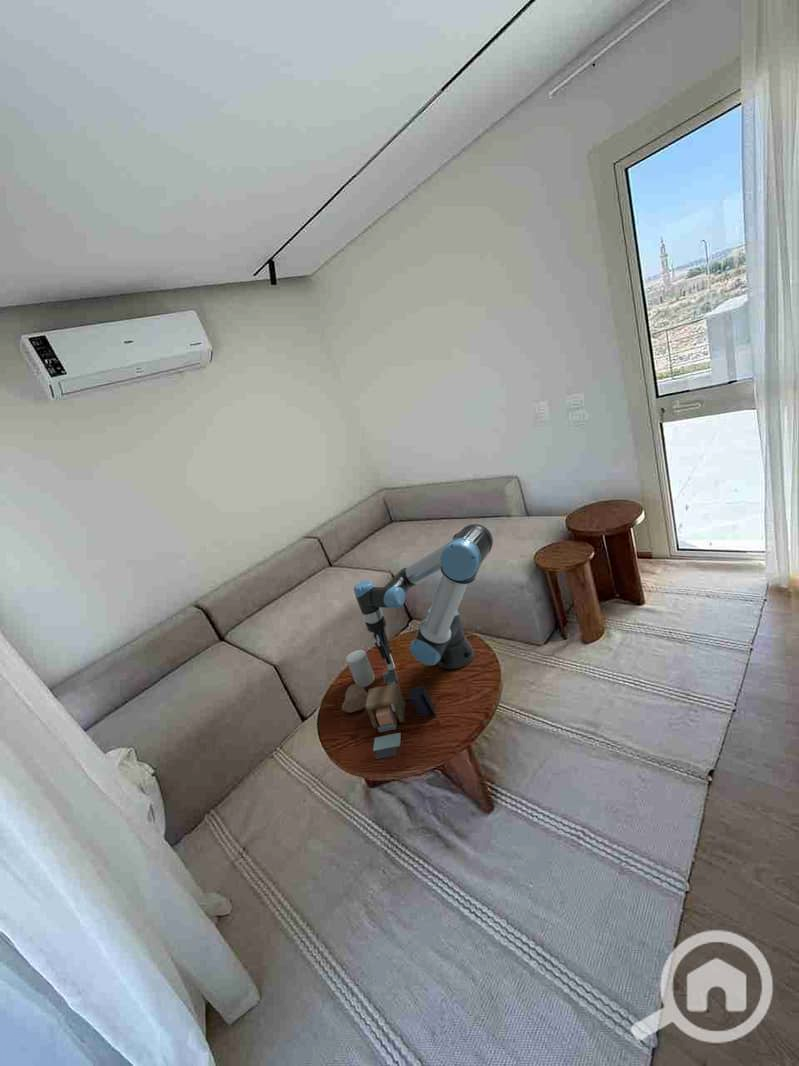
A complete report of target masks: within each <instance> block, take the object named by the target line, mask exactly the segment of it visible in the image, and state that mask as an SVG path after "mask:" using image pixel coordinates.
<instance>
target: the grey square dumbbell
mask: <svg viewBox="0 0 799 1066" xmlns="http://www.w3.org/2000/svg"><path fill="white" fill-rule="evenodd" d="M382 677H383V681H384V684H386V685H390V684H395V683H396V682H398V681H399V677H398V673H397V671H396V668H395V669H392V670H386V671H383V672H382ZM391 707H392V709H393V712H394V724H389V725H384V726H380V725H379V724H378V727H377V730H378V733H383V732H388V731H391V730H394V731H395V730H396V729H397V726H398V725H397V722H398V721H397V720H398V716H397V713H396V710H395V707H394V704H391Z"/></svg>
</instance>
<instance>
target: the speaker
mask: <svg viewBox="0 0 799 1066" xmlns="http://www.w3.org/2000/svg"><path fill="white" fill-rule="evenodd" d="M408 698H409V700H410V702H411V704H412V705H413V708H414V709H415V711H416V712H417V714H418V716H419V717H427V716H428V715H429V714H430V713H431V712H432V714H433V716H434V717H437V711H436V706H435V704H434V703H433V700H432V699H431V697H430V695H429V693H428V691H427V689H426V688H425V686H424V684H423V683H421V686H416V687H414V688H412V689H411V690H410V691H409V693H408Z"/></svg>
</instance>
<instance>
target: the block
mask: <svg viewBox="0 0 799 1066" xmlns="http://www.w3.org/2000/svg"><path fill="white" fill-rule="evenodd" d="M376 717H377V720H378V726H379V725H380V726H384V725H389V724H394V712H393V709H392V707H391V705H386V706H381V707H377V713H376Z"/></svg>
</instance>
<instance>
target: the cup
mask: <svg viewBox="0 0 799 1066" xmlns="http://www.w3.org/2000/svg"><path fill="white" fill-rule="evenodd" d="M345 660H346V662H347V665H348V668H349V671H350V673H351V675H352V678H353V680H354V684H359V685H361V686H362V687H363V688H366V687H368V686H370V685H371V684H373V682H374V681H375V678H376V676H375V674H374V672H373V669H372V665H371V663H370V660H369V658H368V655H367V652H366V651H365V650H364V649H357V650H354V651H352V652H350V653H349V654H348V655H347V656H346V659H345Z"/></svg>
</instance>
